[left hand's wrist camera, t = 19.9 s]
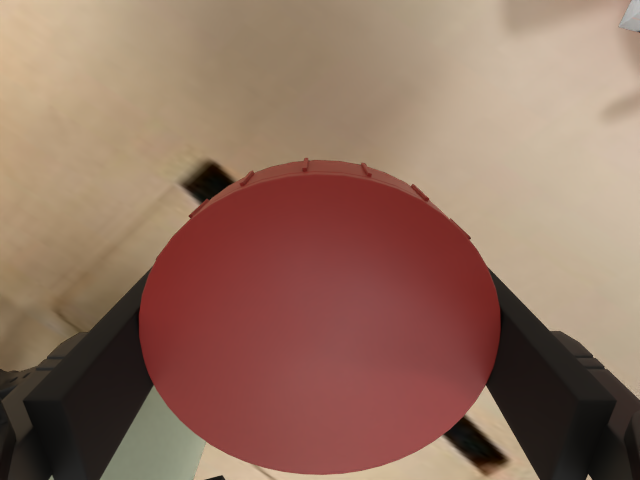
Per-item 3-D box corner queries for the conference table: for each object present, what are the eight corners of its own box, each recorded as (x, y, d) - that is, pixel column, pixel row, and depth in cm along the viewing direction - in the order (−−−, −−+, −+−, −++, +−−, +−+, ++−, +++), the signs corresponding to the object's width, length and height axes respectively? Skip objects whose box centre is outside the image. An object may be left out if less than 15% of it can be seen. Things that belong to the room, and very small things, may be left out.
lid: (385, 86, 10) (400, 84, 8) (517, 353, 13) (551, 398, 11) (99, 266, 12) (56, 299, 10) (277, 458, 15) (271, 512, 13)
